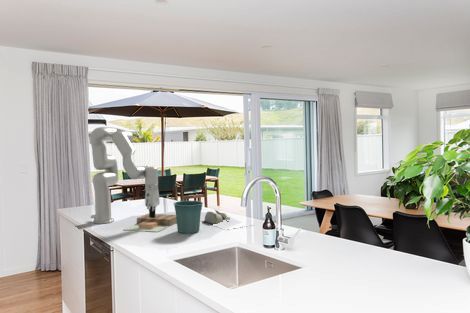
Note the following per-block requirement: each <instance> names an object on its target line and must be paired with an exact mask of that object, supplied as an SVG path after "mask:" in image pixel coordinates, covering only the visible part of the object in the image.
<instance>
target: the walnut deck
mask: <svg viewBox="0 0 470 313" xmlns="http://www.w3.org/2000/svg"><path fill="white" fill-rule="evenodd" d="M142 222H156V223H157V225H160V226H169V227H171V226H173V225H175V224H177V219H176V214H164V213H155V218H149V213H147V214H144V215H141V216H138V217H137V218H136V224H140V223H142Z"/></svg>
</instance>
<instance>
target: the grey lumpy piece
mask: <svg viewBox="0 0 470 313" xmlns="http://www.w3.org/2000/svg"><path fill="white" fill-rule="evenodd" d="M214 210H215V212H213V211H207V212H206V213H205V215H204V220H202V221H201V220H200V223H203V222H204V224H206V223H207V225H209V224H210V226H212V225H213V224H218V223H220V222H223V220H226V221H227V220H230V218H231V217H228V216H227V215H226V214H225V213H223V212H219V210H216V209H214ZM227 222H229V221H227Z"/></svg>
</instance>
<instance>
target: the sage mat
mask: <svg viewBox="0 0 470 313" xmlns="http://www.w3.org/2000/svg"><path fill="white" fill-rule="evenodd" d="M167 228H170V226H160V225H157V227H155V228H153V229H145V228H139V225H138V224H137V223H136V224H133V225H131V226H128V227H126V228H124V229H123V231H131V232H148V233H159V232H161V231H163V230H165V229H167Z"/></svg>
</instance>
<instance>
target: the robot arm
mask: <svg viewBox="0 0 470 313" xmlns="http://www.w3.org/2000/svg"><path fill="white" fill-rule="evenodd" d="M89 141H90V144H91V145H90V146H91V154H92V164H93V167H94V169H95V170H97V171H101V172H97V173H95V174H94V175H93V177H92V186H93V190H94V208H95V209H94V210H95V212H94V213H95V214H91V216H90V219H93V220H92V223H93V224H97V225H99V224H100V225H103V224H109V223H113V222H114V221H115V219H114V218H112V200H111V198H112V197H111V189H110V188H109V187H111V186H114V185H117V183H118V181H119V171H118V169H119V168H118V162H117V158H116V157H115V156H114V155H113V154H108V153H107V147H106V145H105V144H106V143H104V142H105V141H107V142H108V141H111V142H113V143H114V145H115V146H116V148H117V150H118V152H119V153H120V155H121V156H122V166H123V170H124V171H125V173H126V174H127V176H128V177H129V178H130V179H131V180H141V179H144V186H145V187H144V188H145V189H144V190H145V194H144V205H145V207H146V209H147V210H148V214H149V218H155V214H156V210H157V207H158V206H159V205H160V191H159V175H158V174H159V171H158V170H159V169H158V167H156V166H146V165H141V166H137V165H135V162H134V161H133V155H134V154H135V152H136V149H135V147H134V145H133V144H132V143H133V141H134V135H133V134H132V132H130V131H129V130H125V129H121V128H117V127H106V126H105V127H104V126H101V127H96V128H94V129H93V130H92V131H91V133H90V136H89Z"/></svg>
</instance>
